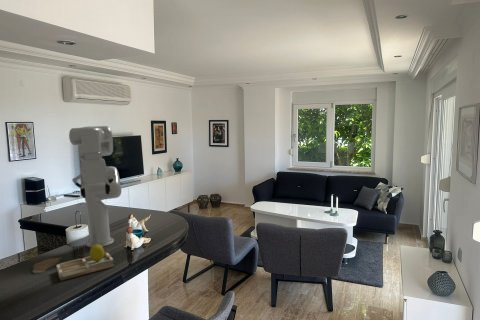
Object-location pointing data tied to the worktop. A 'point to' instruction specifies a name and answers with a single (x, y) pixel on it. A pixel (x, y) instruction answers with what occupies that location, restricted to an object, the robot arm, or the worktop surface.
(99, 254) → the lemon
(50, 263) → the pottery shard
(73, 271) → the tray
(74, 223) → the worktop surface
